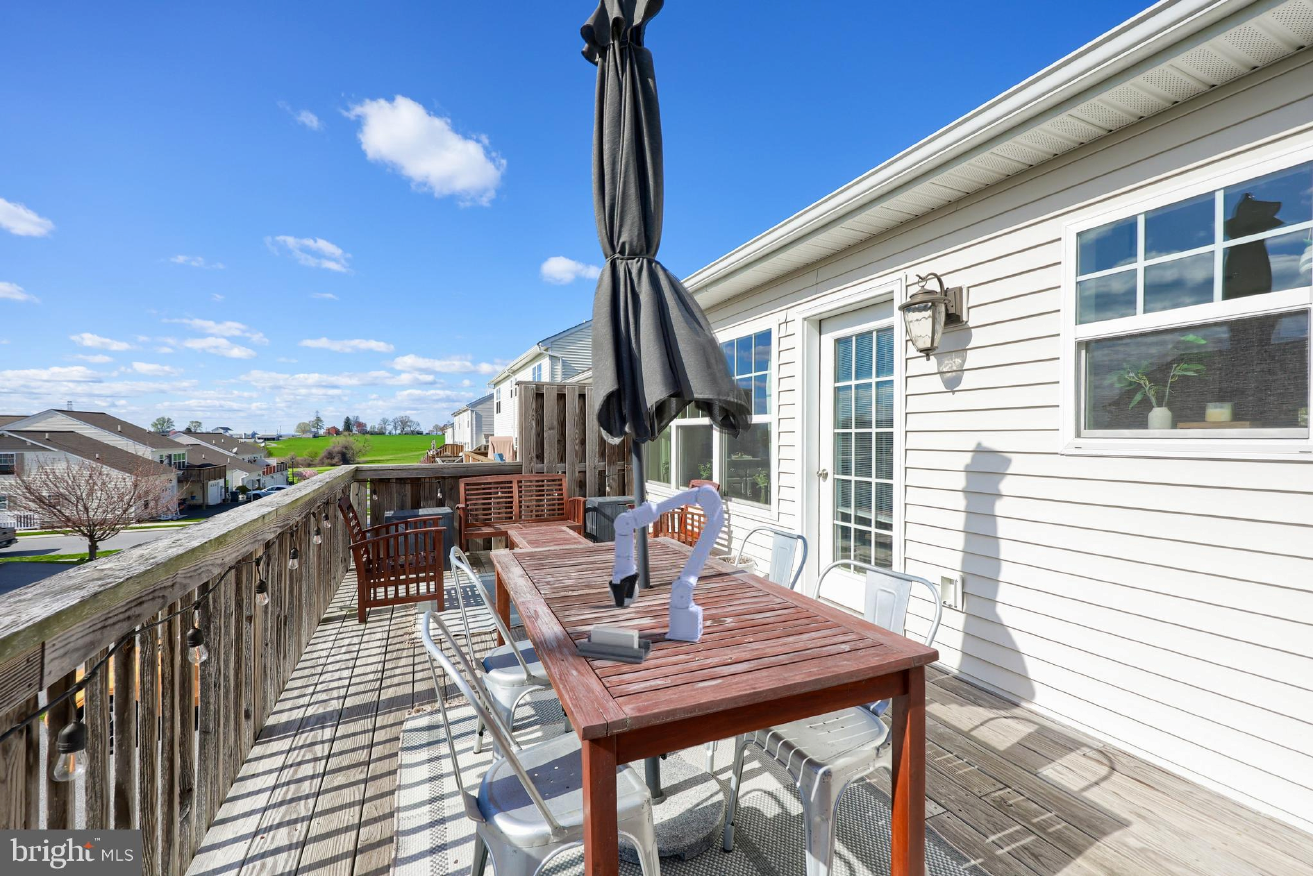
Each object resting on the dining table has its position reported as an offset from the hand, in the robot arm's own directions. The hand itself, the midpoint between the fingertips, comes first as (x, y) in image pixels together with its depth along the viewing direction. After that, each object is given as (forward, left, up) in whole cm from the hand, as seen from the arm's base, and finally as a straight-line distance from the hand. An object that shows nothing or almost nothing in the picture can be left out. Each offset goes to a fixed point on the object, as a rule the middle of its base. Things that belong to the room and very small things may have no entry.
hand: (624, 602), depth 156 cm
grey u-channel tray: (-2, +13, -9) cm, 16 cm away
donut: (+9, -24, -10) cm, 27 cm away
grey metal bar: (-2, +13, -8) cm, 16 cm away
